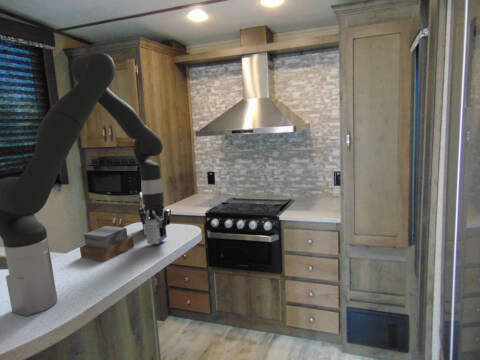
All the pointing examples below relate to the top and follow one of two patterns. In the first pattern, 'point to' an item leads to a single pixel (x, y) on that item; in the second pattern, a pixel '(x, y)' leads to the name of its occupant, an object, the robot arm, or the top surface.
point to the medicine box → (153, 231)
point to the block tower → (106, 243)
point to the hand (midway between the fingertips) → (156, 235)
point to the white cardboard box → (146, 213)
